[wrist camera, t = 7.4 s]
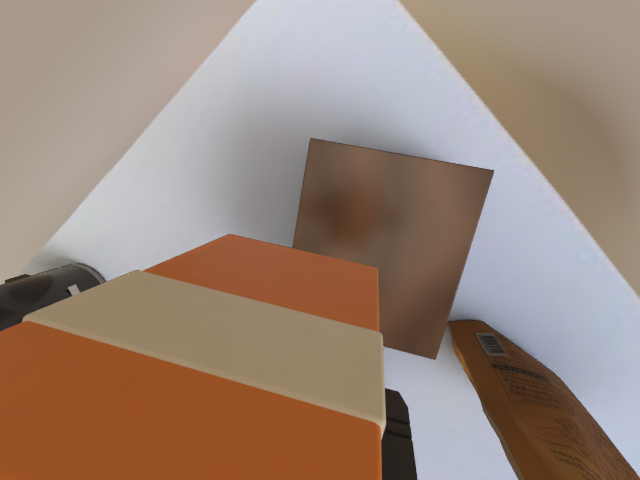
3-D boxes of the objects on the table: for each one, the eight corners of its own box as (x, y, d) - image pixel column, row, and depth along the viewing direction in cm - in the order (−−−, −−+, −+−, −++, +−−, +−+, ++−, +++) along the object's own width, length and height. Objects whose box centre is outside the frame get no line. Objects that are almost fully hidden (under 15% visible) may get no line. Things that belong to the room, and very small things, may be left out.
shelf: (308, 277, 37) (280, 319, 27) (332, 147, 34) (310, 137, 23) (419, 303, 36) (435, 360, 25) (456, 170, 32) (494, 170, 21)
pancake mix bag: (462, 286, 34) (762, 714, 7) (604, 393, 34) (1463, 1251, 7) (421, 328, 36) (540, 791, 9) (555, 430, 36) (1081, 1215, 9)
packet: (207, 407, 12) (-90, 823, 4) (227, 230, 10) (-200, 404, 3) (336, 447, 11) (253, 1016, 4) (380, 266, 10) (397, 627, 2)
